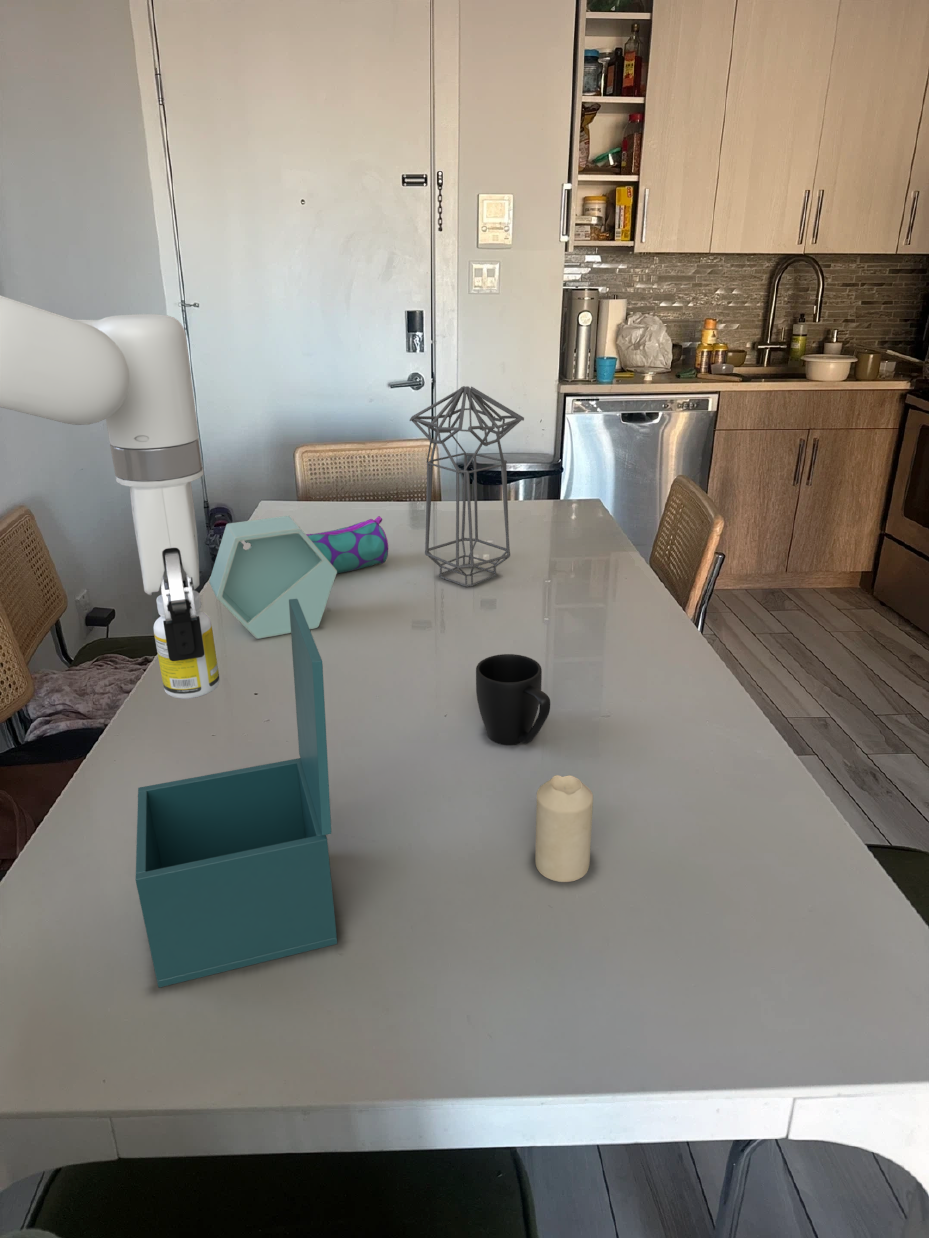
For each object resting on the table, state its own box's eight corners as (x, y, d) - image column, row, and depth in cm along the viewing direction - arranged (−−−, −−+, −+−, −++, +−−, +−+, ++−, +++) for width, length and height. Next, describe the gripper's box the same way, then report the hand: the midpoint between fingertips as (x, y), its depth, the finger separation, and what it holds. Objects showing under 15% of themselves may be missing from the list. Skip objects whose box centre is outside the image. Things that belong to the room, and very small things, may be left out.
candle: (557, 890, 85) (560, 805, 81) (524, 859, 90) (525, 777, 86) (600, 869, 88) (605, 787, 84) (566, 840, 92) (570, 760, 88)
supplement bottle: (203, 670, 90) (191, 581, 86) (230, 687, 87) (218, 596, 83) (154, 687, 87) (138, 596, 83) (179, 706, 83) (165, 612, 79)
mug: (514, 772, 104) (515, 703, 100) (464, 728, 114) (463, 663, 110) (570, 753, 108) (573, 685, 104) (517, 711, 117) (518, 648, 114)
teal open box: (158, 988, 75) (135, 879, 70) (157, 886, 87) (138, 787, 82) (337, 943, 79) (327, 839, 75) (313, 852, 91) (303, 756, 86)
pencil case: (286, 589, 160) (281, 539, 156) (273, 574, 167) (268, 526, 163) (391, 569, 168) (389, 522, 164) (375, 556, 175) (372, 510, 171)
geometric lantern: (410, 576, 165) (402, 387, 151) (471, 556, 174) (469, 377, 160) (466, 598, 154) (463, 397, 140) (528, 576, 164) (531, 386, 150)
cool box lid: (312, 662, 68) (322, 660, 68) (288, 599, 80) (297, 598, 80) (322, 835, 74) (331, 833, 75) (299, 753, 86) (307, 752, 86)
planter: (278, 661, 143) (192, 573, 132) (268, 642, 149) (185, 558, 138) (357, 594, 144) (278, 502, 133) (344, 578, 151) (267, 490, 139)
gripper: (115, 445, 84) (144, 617, 91) (111, 488, 69) (146, 690, 76) (195, 439, 86) (217, 608, 93) (208, 480, 71) (233, 676, 79)
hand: (185, 643), depth 85 cm, fingers closed on supplement bottle, 5 cm apart
